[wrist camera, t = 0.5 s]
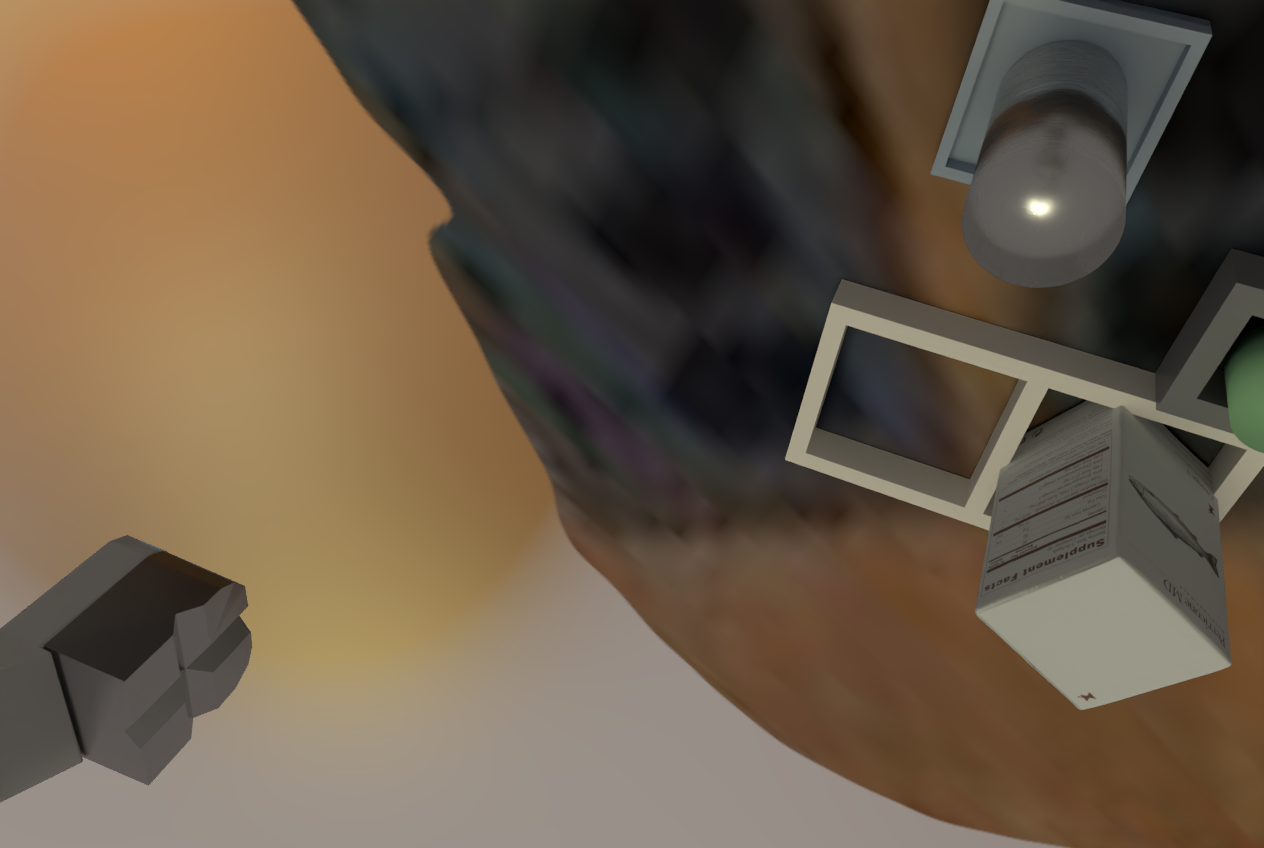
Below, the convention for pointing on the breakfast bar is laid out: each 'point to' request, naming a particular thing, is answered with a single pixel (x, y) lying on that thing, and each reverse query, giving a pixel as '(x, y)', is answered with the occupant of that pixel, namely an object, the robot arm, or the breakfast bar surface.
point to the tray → (1087, 11)
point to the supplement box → (1106, 557)
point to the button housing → (1210, 343)
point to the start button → (1246, 388)
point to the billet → (1051, 168)
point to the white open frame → (1036, 373)
